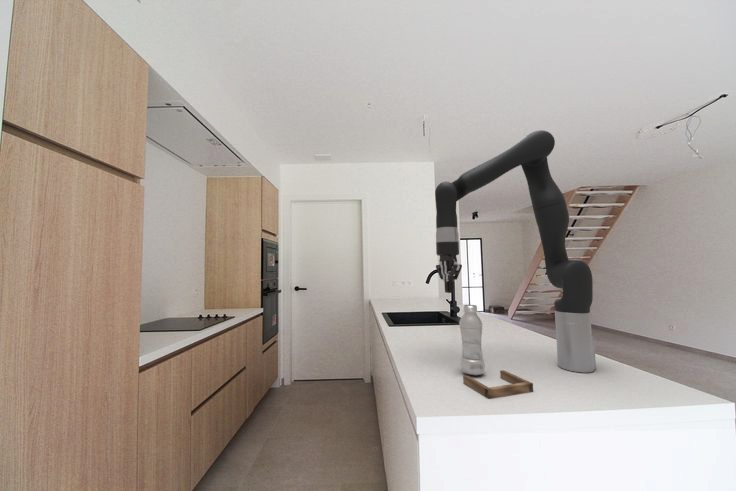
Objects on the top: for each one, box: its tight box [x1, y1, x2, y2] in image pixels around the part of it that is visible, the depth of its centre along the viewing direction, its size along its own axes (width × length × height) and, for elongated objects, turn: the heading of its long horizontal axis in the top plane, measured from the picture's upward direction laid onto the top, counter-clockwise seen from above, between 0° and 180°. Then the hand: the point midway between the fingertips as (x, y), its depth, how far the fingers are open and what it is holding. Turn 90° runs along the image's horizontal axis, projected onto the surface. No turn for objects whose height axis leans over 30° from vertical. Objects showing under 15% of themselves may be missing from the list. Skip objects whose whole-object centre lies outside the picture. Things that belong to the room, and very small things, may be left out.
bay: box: [462, 370, 534, 399], centre depth 78 cm, size 13×10×2 cm
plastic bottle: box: [458, 304, 486, 376], centre depth 89 cm, size 6×7×20 cm
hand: (449, 292), depth 101 cm, fingers closed
